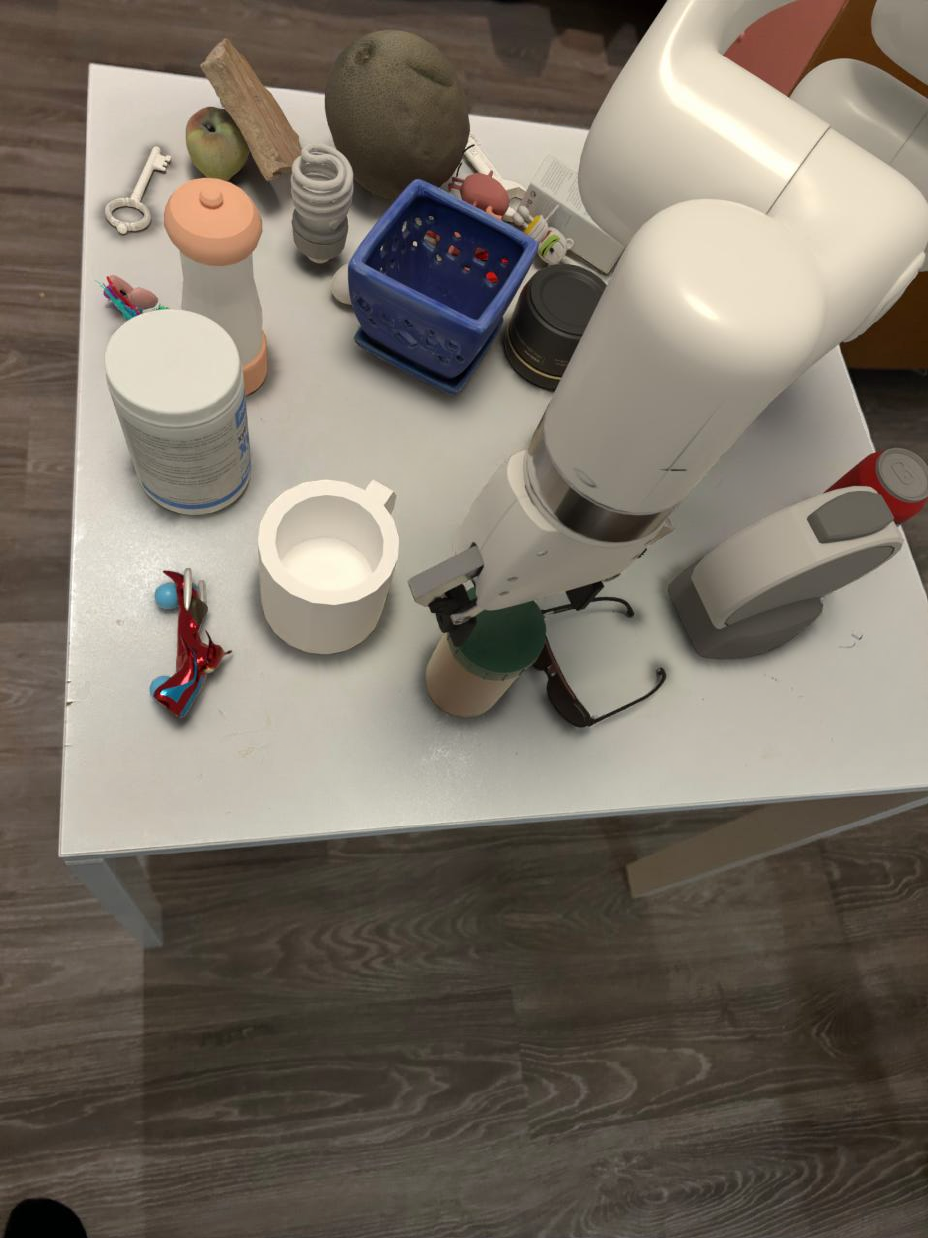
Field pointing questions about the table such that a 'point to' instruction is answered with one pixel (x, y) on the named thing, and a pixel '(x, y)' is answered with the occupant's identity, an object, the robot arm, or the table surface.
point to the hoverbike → (186, 644)
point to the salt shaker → (221, 264)
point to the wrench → (485, 167)
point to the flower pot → (435, 285)
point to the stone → (252, 110)
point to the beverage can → (892, 480)
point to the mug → (327, 563)
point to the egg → (341, 285)
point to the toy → (541, 233)
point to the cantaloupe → (396, 112)
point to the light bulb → (321, 202)
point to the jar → (551, 321)
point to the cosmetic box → (569, 213)
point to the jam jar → (460, 685)
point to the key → (138, 194)
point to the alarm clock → (782, 571)
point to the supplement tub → (181, 408)
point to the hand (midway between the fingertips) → (512, 607)
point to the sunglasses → (559, 687)
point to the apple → (216, 143)
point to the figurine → (480, 198)
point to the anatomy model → (129, 297)
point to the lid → (502, 641)
